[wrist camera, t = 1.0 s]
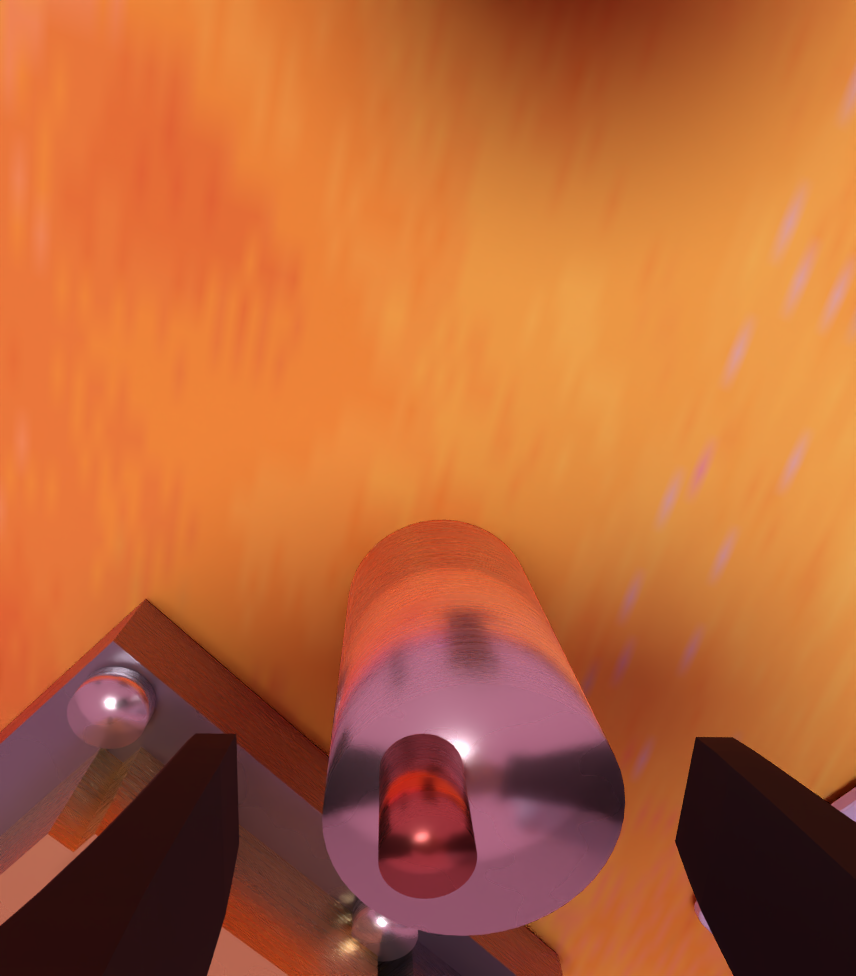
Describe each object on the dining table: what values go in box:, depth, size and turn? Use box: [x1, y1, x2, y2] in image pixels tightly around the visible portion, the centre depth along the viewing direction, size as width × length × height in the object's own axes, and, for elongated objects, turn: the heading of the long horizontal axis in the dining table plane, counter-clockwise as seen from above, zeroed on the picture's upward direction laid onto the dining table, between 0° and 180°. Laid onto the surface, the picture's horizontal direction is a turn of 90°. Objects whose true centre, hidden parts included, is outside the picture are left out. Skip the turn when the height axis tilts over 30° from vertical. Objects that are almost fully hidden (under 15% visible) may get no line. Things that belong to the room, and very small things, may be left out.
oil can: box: [322, 520, 625, 936], centre depth 13 cm, size 4×4×9 cm
